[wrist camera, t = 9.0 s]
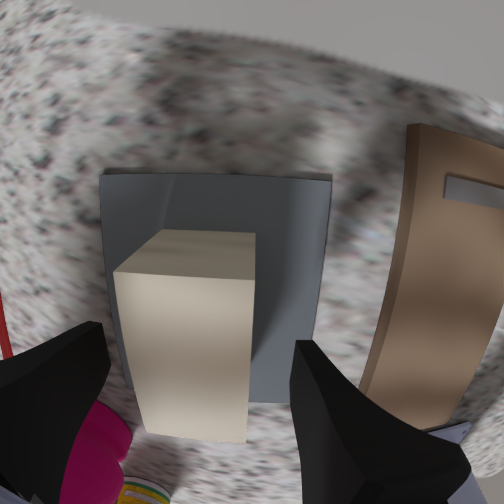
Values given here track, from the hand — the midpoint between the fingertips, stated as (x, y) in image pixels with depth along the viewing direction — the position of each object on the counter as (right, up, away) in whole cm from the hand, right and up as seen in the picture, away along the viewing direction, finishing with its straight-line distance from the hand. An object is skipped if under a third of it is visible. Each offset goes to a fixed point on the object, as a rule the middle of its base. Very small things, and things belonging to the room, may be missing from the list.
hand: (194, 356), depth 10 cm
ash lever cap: (0, +1, +3) cm, 4 cm away
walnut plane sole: (+12, +1, +4) cm, 13 cm away
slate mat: (0, +1, +4) cm, 4 cm away
